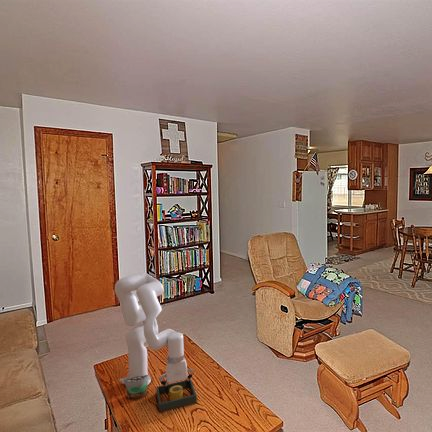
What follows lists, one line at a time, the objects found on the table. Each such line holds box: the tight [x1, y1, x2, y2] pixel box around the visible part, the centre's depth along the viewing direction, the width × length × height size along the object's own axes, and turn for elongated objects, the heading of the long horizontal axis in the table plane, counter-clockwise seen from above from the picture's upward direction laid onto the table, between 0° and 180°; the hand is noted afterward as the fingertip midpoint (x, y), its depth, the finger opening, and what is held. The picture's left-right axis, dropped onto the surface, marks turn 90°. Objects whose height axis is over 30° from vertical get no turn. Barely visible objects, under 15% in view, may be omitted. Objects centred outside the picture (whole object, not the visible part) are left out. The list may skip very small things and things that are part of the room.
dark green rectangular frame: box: [156, 378, 197, 413], centre depth 175 cm, size 18×16×4 cm
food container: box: [123, 373, 150, 400], centre depth 175 cm, size 12×6×10 cm, turn 118°
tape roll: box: [168, 385, 184, 401], centre depth 175 cm, size 7×7×5 cm
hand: (177, 389), depth 175 cm, fingers open, 9 cm apart
